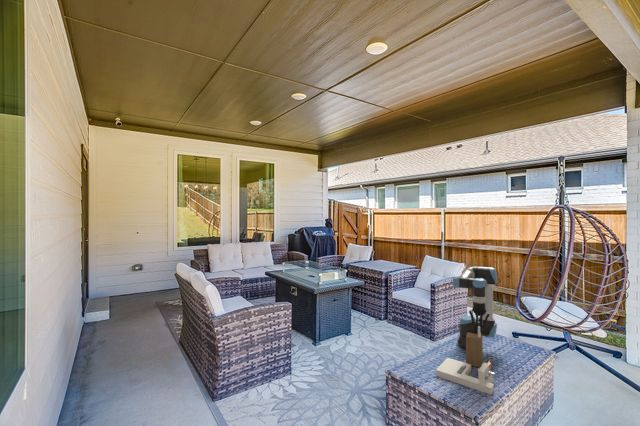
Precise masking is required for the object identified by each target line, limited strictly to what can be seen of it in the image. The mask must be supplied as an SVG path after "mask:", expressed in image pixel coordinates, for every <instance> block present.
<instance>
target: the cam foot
mask: <svg viewBox="0 0 640 426" xmlns="http://www.w3.org/2000/svg"><path fill="white" fill-rule="evenodd" d="M486 363H487V364H489V367H488V369H487V371H486V372H485V381H487V382H490V383H493V384H495V377H494V376H495V372H493V371H491V370H492V369H493V361H492V360H491V359H488V362H486ZM479 369H480V367H477V372H478V370H479Z"/></svg>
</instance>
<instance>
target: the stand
mask: <svg viewBox="0 0 640 426" xmlns="http://www.w3.org/2000/svg"><path fill="white" fill-rule="evenodd" d="M487 363H488V362H482V366H481V367H479V370H478V371H477V372H478V374H477V375H478V378H476V377H473V376H471V375H469V374H470V373H471V372H472V366H471V364H467V363H466V362H464V361H460V360H457V359H453V358H451V357H447V358H445V360H444V361H443V362H442V363H441V364H440V365H439V366H438V367H437V369H435V373H436V374H435V375H436V377H438V376H439V377H438V378H441V377H442V379H444V380H446V381H447V380H448V381H450V382H453V383H456V384H459V385H462V386H464V387H467V388H471V389H474V390H477V391H478V392H482V393H485V394H488V395H490V396H491V395H493V393H494V388H495V387H494V384H495V383H494V384H493V383H490V382H487V381H485V372H486V371H487V369H488V367H489V364H487Z"/></svg>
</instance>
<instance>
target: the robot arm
mask: <svg viewBox="0 0 640 426" xmlns="http://www.w3.org/2000/svg"><path fill="white" fill-rule="evenodd" d="M497 283H499V282H498V273H497V270H496V268H494V267H489V266H488V267H487V266H475V265H473V266H469V267H466V268H464V269H463V270H462V271H461V274H460V275H459V276H453V278H452V286H453V287H454V288H458V289H459V288H461V289H469V290H472V309H470V310H468V313H469V315H464V316H461V317H460V318H459V323H458V325H459V336H458V338H457V342H456V344H457V346H458V347H460V348H462V349H464V350H466V335H467V332H469V333H474V334H478V337H481V335H482V337H486V338H491V339H494V338H496V334H497V329H498V323H497V322H496V319H494V287H495V286H496V284H497ZM474 315H475V316H474Z"/></svg>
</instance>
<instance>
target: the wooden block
mask: <svg viewBox="0 0 640 426" xmlns="http://www.w3.org/2000/svg"><path fill="white" fill-rule="evenodd" d="M483 355H484V354H483V336H482V335H481V337H478V334H474V333H469V332H467V335H466V349H465V363H467V364H471V367H477V368H480V367H481V366H482V364H483V363H484V361H483V358H484V357H483Z"/></svg>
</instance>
